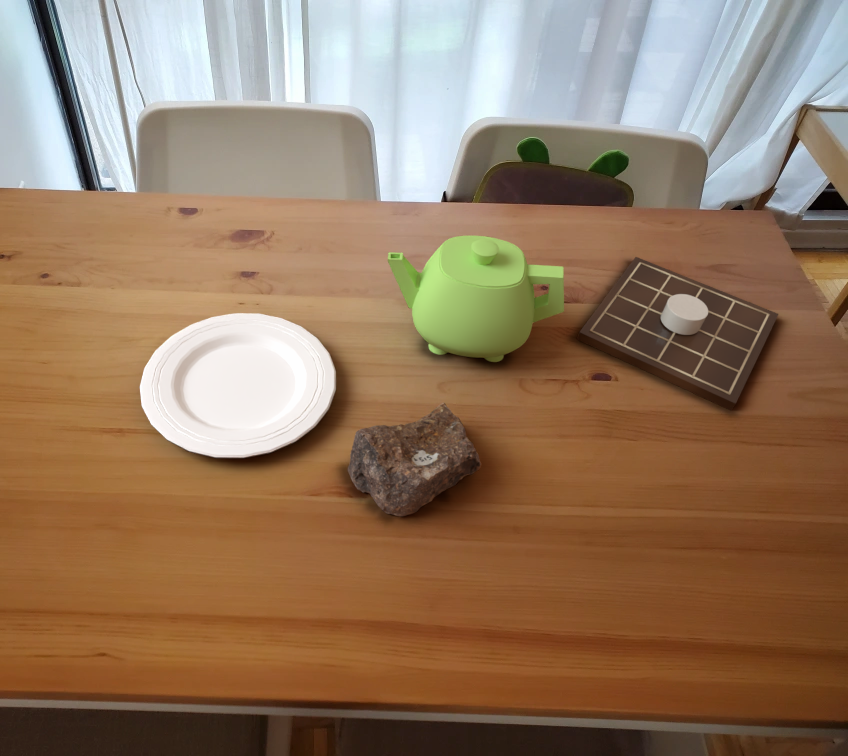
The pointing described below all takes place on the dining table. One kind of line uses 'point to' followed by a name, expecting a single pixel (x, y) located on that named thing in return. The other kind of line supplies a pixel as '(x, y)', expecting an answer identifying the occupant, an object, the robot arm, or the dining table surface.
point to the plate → (238, 385)
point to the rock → (412, 460)
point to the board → (675, 353)
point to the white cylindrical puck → (684, 314)
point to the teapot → (477, 296)
